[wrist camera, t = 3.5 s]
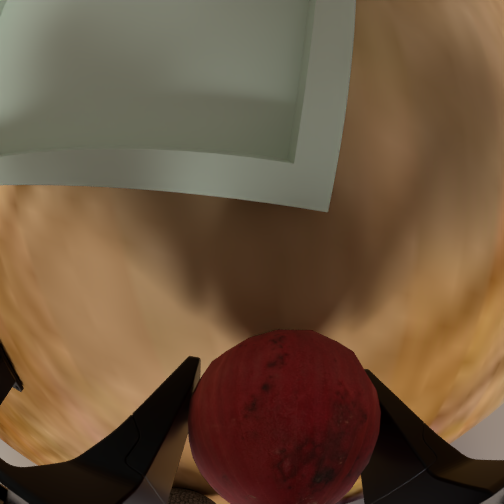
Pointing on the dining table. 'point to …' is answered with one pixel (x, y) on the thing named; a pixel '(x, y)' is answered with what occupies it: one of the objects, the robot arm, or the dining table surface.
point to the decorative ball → (187, 497)
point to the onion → (284, 420)
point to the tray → (177, 95)
